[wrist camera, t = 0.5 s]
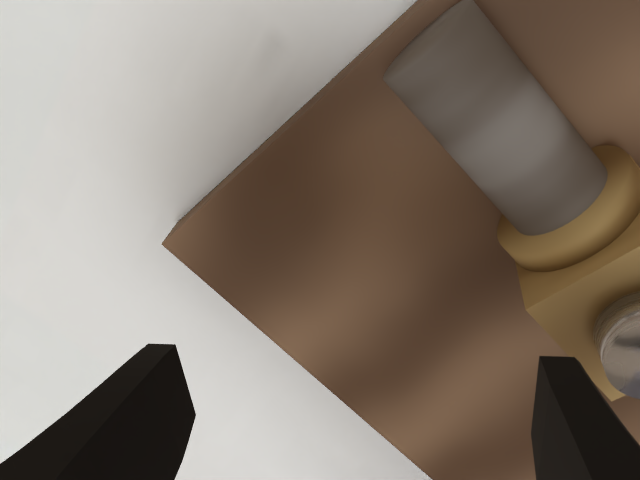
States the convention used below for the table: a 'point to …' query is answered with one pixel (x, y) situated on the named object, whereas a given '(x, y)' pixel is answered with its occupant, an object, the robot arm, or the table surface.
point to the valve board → (445, 223)
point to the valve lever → (620, 343)
